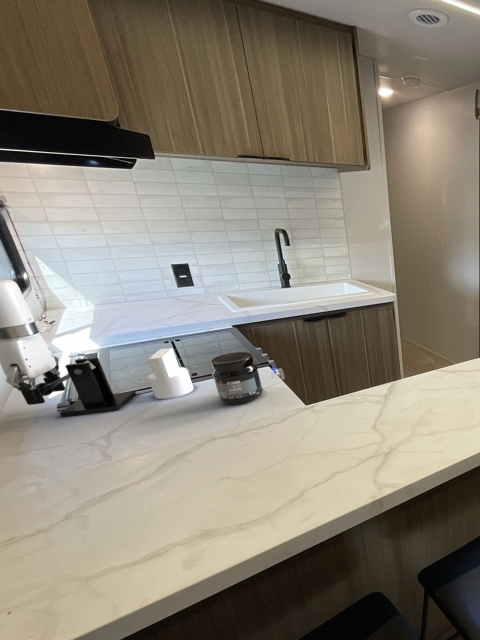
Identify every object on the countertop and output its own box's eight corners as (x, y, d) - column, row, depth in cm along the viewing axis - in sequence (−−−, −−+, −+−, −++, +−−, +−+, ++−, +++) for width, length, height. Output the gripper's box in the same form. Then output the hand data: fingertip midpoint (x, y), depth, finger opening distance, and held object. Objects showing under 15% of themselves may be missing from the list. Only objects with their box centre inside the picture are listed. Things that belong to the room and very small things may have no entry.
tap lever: (39, 400, 103) (26, 390, 101) (48, 394, 106) (35, 384, 104) (91, 372, 104) (80, 362, 103) (99, 368, 107) (87, 357, 106)
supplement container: (250, 387, 119) (240, 348, 115) (271, 394, 115) (262, 355, 110) (212, 400, 111) (200, 360, 106) (234, 409, 106) (221, 367, 102)
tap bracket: (61, 417, 103) (38, 371, 98) (84, 401, 112) (65, 357, 107) (118, 410, 106) (99, 365, 101) (136, 394, 115) (120, 352, 110)
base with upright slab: (161, 388, 119) (147, 350, 114) (197, 383, 122) (185, 346, 117) (149, 401, 111) (134, 360, 107) (188, 395, 114) (175, 356, 110)
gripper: (22, 324, 104) (51, 386, 111) (-36, 343, 89) (3, 414, 96) (58, 321, 106) (85, 382, 113) (8, 340, 91) (43, 409, 98)
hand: (47, 396), depth 104 cm, fingers open, 7 cm apart
